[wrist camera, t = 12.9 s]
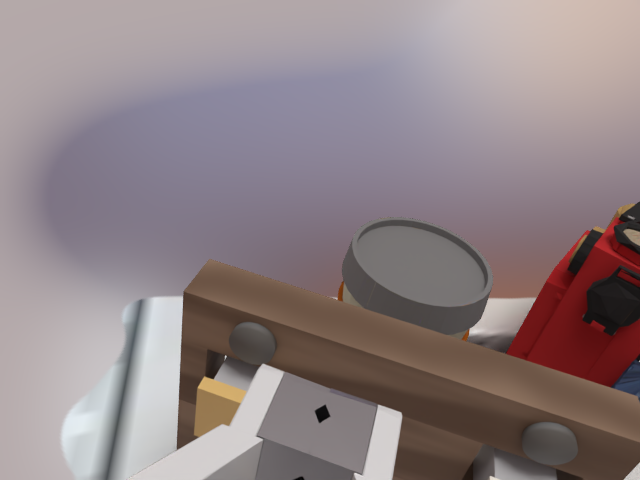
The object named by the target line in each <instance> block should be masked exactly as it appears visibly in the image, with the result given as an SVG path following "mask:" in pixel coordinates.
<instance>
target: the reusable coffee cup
mask: <svg viewBox="0 0 640 480" xmlns="http://www.w3.org/2000/svg"><path fill="white" fill-rule="evenodd" d="M342 275H343V282H342V284H341V286H340V288H339V293H338V300H339V301H342V302H345V303H348V304H352V305H355V306H358V307H361V308H364V309H367V310H370V311H373V312H376V313H380V314H383V315H386V316H389V317H392V318H395V319H398V320H401V321H405V322H408V323H411V324H414V325H417V326H420V327H423V328H426V329H429V330H433V331H436V332H439V333H442V334H445V335H448V336H451V337H454V338H457V339H461V340H464V341H466V340H467V338H468V336H469V329H470V328H471V327H473V326H474V325H475V324H476V323H477V322H478V321H479V320H480V319H481V317H482V314H483V312H484V309H485V306H486V303H487V300H488V297H489V294H490V291H491V288H492V284H493V275H492V271H491V268H490V266H489V264H488V262H487V260H486V259H485V258H484V257H483V255H482V254H481V253H480V252H479V251H478V250H477V249H476V248H475V247H474V246H473V245H472V244H470V243H469V242H468V241H466V240H465V239H463V238H462V237H460V236H458V235H457V234H455V233H453V232H451V231H449V230H447V229H445V228H442V227H440V226H438V225H435V224H432V223H428V222H425V221H421V220H416V219H411V218H402V217H395V218H394V217H390V218H381V219H377V220H373V221H370V222H368V223H366V224H364V225H363V226H361V228H359V229H358V230H357V231H356V233H355V235H354V237H353V239H352V242H351V244H350V246H349V249H348V252H347V254H346V256H345V259H344V261H343V266H342Z"/></svg>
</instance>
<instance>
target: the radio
mask: <svg viewBox="0 0 640 480" xmlns="http://www.w3.org/2000/svg"><path fill="white" fill-rule="evenodd" d="M506 354H507V355H510V356H514V357H517V358H520V359H523V360H526V361H529V362H532V363H535V364H538V365H542V366H545V367H548V368H551V369H554V370H557V371H560V372H563V373H567V374H570V375H573V376H576V377H579V378H582V379H585V380H588V381H591V382H595V383H598V384H601V385H604V386H607V387H611V386H612V385H613V384H614V383H615V382H616V381H617V379H618V378H619V377H620V376H621V375H622V373H623V372H624V371H625V370H626V369H627V368H628V367H629V366H630V364H631V362H633V361H634V360H637V361H639V360H640V202H638V203H637V204H629V205H625V206H622V207H620V208H619V209H618V211H617V212H616V214H615V215H614V217H613V219H612V220H611V222H610V224H609V225H608V227H607V229H606V230H604V229H601V228H599V227H595V228H594V229H592V230H591V231H588V230H587V231H586V232H585V233H584V234H583V235H582V237H581V238H580V239H579V240H578V241H577V243H576V244H575V245H574V246H573V247H572V248H571V250H570V251H569V252H568V253H567V254H566V255H565V257H564V258H563V259H562V260H561V261H560V262H559V264H558V265H557V266H556V267H555V268H554V270H553V272H552V273H551V275H550V276H549V278H548V279H547V281H546V283H545V285H544V286H543V288H542V290H541V292H540V293H539V295H538V297H537V299H536V301H535V302H534V304H533V306H532V308H531V310H530V311H529V313H528V315H527V317H526V318H525V320H524V322H523V324H522V326H521V327H520V329H519V331H518V333H517V335H516V336H515V338H514V340H513V342H512V344H511V345H510V347H509V349H508V351H507V352H506Z"/></svg>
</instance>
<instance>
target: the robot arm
mask: <svg viewBox="0 0 640 480" xmlns="http://www.w3.org/2000/svg"><path fill="white" fill-rule="evenodd" d="M401 423H402V413H401V412H398V411H395V410H393V409H390V408H387V407H384V406H381V405H377V403H374V402H371V401H368V400H365V399H362V398H359V397H356V396H353V395H350V394H347V393H344V392H341V391H338V390H335V389H332V388H331V389H330V388H327V387H324V386H322V385H319V384H317V383H314V382H311V381H309V380H306V379H303V378H301V377H298V376H295V375H293V374H290V373H288V372H284V371H282V370H279V369H276V368H274V367H271V366H268V365H265V364H262V365H261V366H260V367H259V369H258V370H257V372H256V374H255V376H254V378H253V380H252V382H251V384H250V386H249V388H248V390H247V392H246V394H245V396H244V398H243V400H242V402H241V404H240V406H239V408H238V410H237V412H236V414H235V416H234V417H233V419H232V421H231V423H230V425H229V426H227V425H224V424H221V425H220V426H218V427H216V428H214V429H213V430H211V431H209V432H207V433H206V434H204V435H202V436H201V437H199V438H197V439H195V440H194V441H192V442H190V443H189V444H187V445H185V446H183V447H182V448H180V449H178V450H176V451H175V452H173V453H171V454H170V455H168V456H166V457H164V458H163V459H161V460H159V461H157V462H156V463H154V464H152V465H151V466H149V467H147V468H145V469H144V470H142V471H140V472H139V473H137V474H135V475H133V476H132V477H130V478H128V479H126V480H392V478H393V472H394V466H395V460H396V454H397V447H398V441H399V435H400V429H401Z"/></svg>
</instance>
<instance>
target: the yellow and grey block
mask: <svg viewBox="0 0 640 480" xmlns="http://www.w3.org/2000/svg"><path fill="white" fill-rule="evenodd" d="M258 369H259V367H258V366H255V365H252V364H249V363H246V362H243V361H241V360H238V359H235V358H232V357H229V356H227V357H226V359H225V361H224V362H223V364H222V366H221V368H220V369H219V371H218V373H217V375H216V376H215V378H214V380H213V379H210V378H207V377H205V376H204V378H203V380H202V381H201V383H200V385H199V386H198V388H197V401H196V414H195V427H194V435H195V436H198V437H201V436H202V435H204V434H206V433H207V432H209V431H211V430H213V429H214V428H216V427H218V426H220V425H221V424H224V425H227V426H229V425H230V423H231V421H232V419H233V417H234V416H235V414H236V412H237V410H238V408H239V406H240V404H241V402H242V400H243V398H244V396H245V394H246V392H247V390H248V388H249V386H250V384H251V382H252V380H253V378H254V376H255V374H256V372H257V370H258Z"/></svg>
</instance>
